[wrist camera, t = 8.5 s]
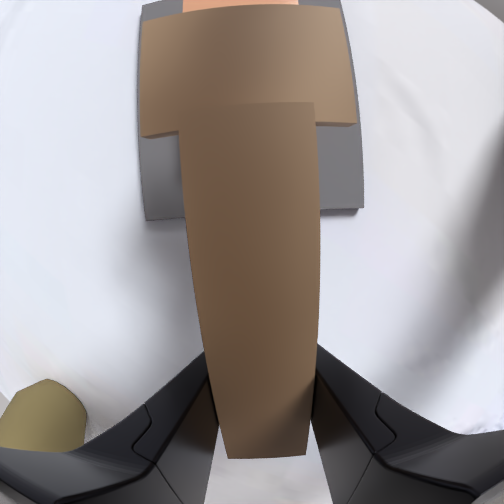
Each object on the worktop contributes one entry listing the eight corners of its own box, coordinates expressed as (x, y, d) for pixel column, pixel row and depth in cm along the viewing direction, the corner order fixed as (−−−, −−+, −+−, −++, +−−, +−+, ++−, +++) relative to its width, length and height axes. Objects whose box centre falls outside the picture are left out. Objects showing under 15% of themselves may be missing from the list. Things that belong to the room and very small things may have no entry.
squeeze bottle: (67, 368, 19) (-33, 517, 2) (111, 429, 21) (53, 570, 4) (21, 368, 20) (-66, 476, 2) (61, 423, 22) (0, 532, 4)
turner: (333, 19, 6) (360, -29, 4) (336, 392, 10) (354, 447, 7) (150, 31, 7) (114, -12, 4) (192, 400, 10) (179, 455, 8)
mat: (335, -4, 11) (338, -8, 11) (360, 206, 15) (363, 208, 15) (145, 9, 12) (142, 5, 11) (149, 219, 15) (145, 220, 15)
